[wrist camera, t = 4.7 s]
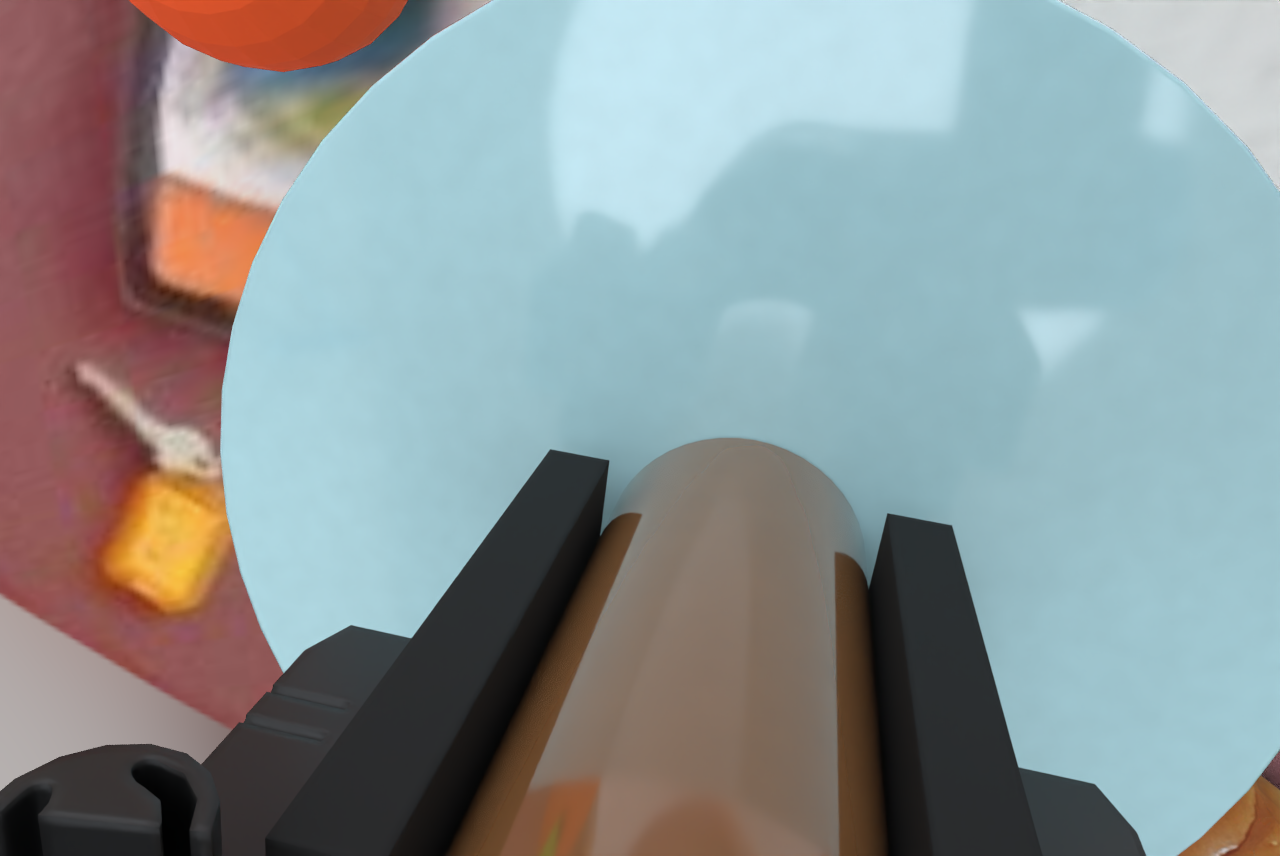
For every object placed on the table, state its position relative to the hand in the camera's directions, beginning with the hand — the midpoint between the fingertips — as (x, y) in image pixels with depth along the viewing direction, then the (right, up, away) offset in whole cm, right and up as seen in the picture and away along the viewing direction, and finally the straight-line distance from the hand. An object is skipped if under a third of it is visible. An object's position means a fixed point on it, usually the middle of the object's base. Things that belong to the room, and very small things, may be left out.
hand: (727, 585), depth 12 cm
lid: (0, 0, +1) cm, 1 cm away
